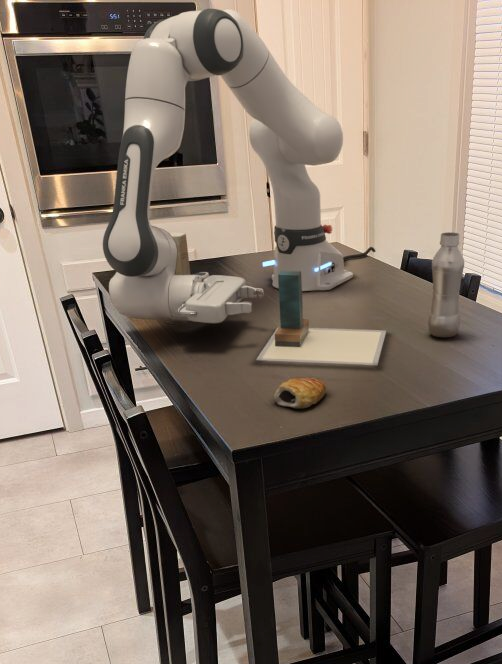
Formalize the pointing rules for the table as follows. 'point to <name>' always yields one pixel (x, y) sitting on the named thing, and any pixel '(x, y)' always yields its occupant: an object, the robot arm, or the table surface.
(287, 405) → the pastry
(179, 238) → the box
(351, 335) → the whiteboard
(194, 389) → the table surface
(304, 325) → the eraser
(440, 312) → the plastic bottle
